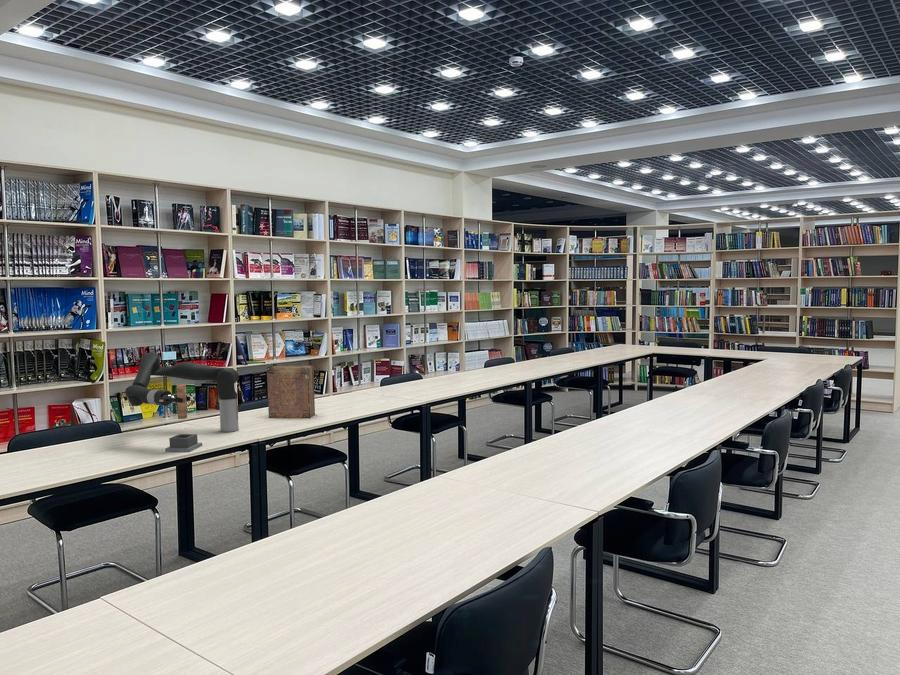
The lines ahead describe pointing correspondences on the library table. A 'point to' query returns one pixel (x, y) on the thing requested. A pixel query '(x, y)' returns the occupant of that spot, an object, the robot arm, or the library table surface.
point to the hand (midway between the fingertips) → (186, 399)
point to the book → (290, 391)
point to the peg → (183, 406)
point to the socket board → (183, 443)
